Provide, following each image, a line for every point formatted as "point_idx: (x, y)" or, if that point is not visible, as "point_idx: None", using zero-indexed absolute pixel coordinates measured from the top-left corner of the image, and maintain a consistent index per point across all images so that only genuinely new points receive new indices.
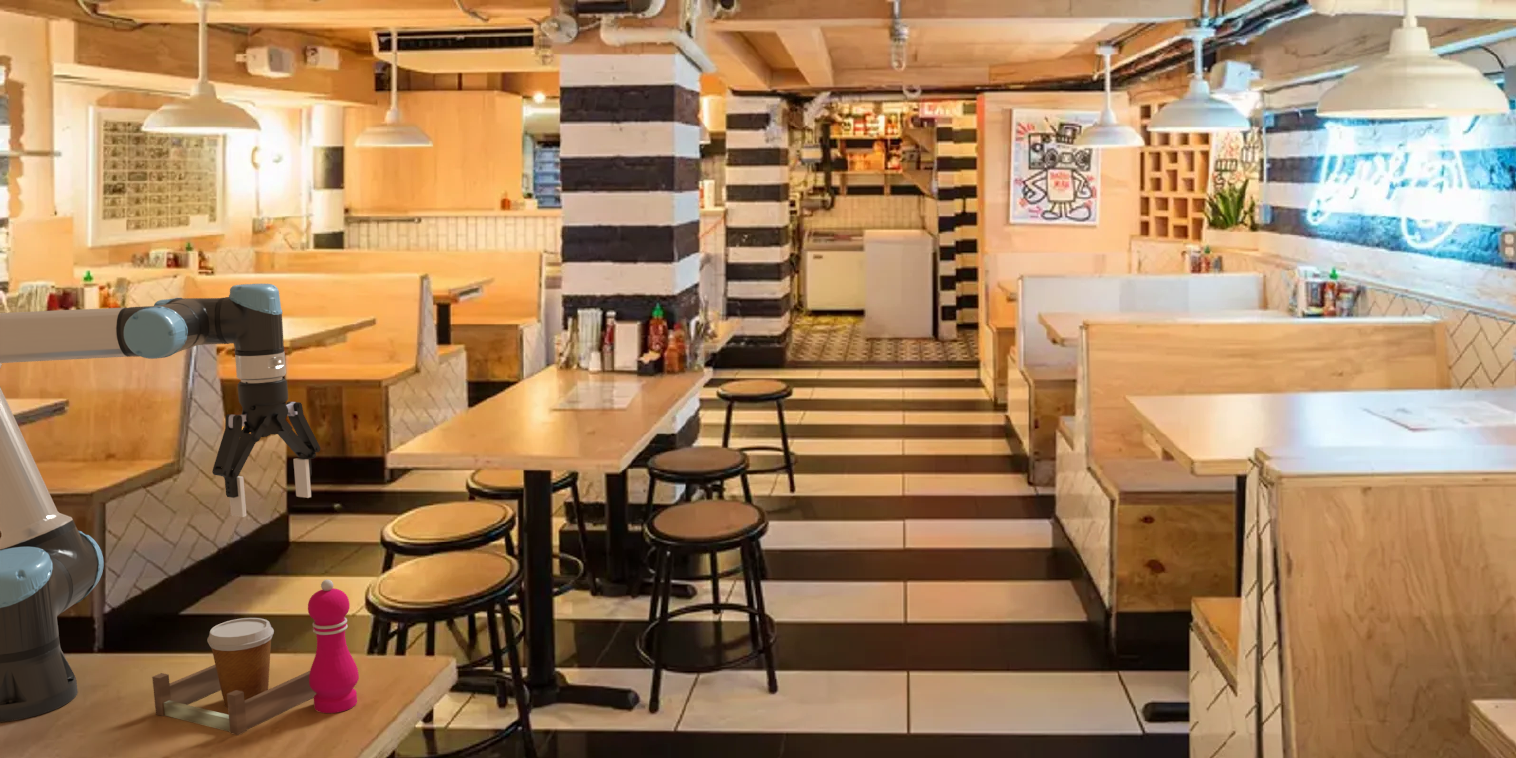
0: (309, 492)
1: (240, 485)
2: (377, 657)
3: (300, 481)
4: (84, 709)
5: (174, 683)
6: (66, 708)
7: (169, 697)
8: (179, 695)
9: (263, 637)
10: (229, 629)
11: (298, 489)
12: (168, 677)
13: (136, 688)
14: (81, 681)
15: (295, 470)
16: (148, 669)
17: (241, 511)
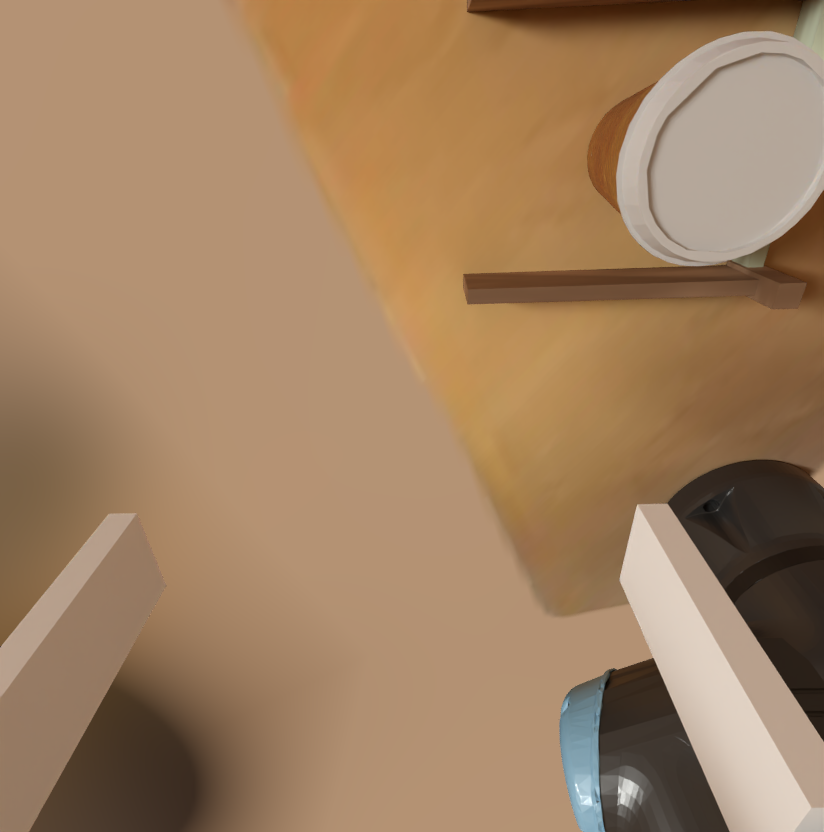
0: (103, 536)
1: (801, 713)
2: (275, 63)
3: (98, 641)
4: (742, 422)
5: (737, 284)
6: (743, 451)
7: (749, 269)
8: (715, 272)
9: (745, 39)
10: (740, 198)
11: (137, 607)
12: (777, 281)
13: (634, 424)
14: (632, 522)
15: (65, 750)
16: (553, 476)
17: (682, 536)
